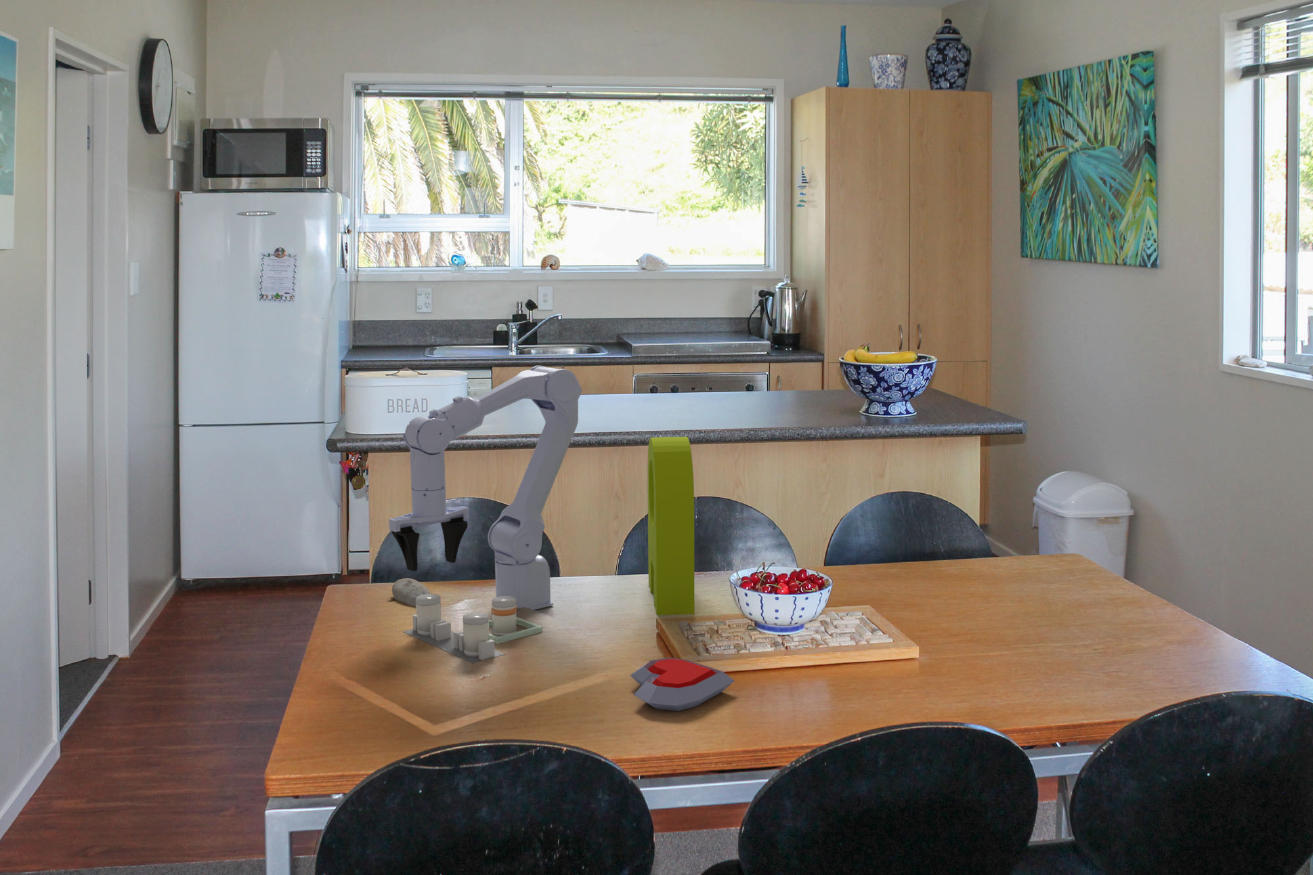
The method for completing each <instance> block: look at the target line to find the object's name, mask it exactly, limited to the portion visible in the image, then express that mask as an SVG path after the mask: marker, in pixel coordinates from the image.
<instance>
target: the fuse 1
mask: <svg viewBox="0 0 1313 875" xmlns="http://www.w3.org/2000/svg"><path fill="white" fill-rule="evenodd" d="M441 602H442V600H441V595H439V594H435V593H431V594H425V595H420V596H418V597H416V606H415V609H416V614H417V634H418V635H420V636H431V633H430V623H431V622H435V621H439V620H442V603H441Z"/></svg>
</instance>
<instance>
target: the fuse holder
mask: <svg viewBox="0 0 1313 875" xmlns="http://www.w3.org/2000/svg"><path fill="white" fill-rule="evenodd" d="M451 625H452V623H451V622H449V621H446V619H441V620H439V621H435V622H431V623H430V633H431V636H420V635H418V634H417V613H416V614H412V629H409V630H408V629H407V630H404V631H402V632H403V633H404V634H406V635H409V636H412V637H414V638H415V639H418V640H421V641H422V642H424V643H427V644H429V645H431V646H433V647H436V648H438V649H440V650H442V651H444V652H447V653H449V654H451V655H454V656H456V657H458V658H460V659H463V660H465V661H467V662H469V663H471V664H476V663H479V662H483V661H486V660H490V659H494V658H498V657H500V656H505V655H506V653H504V652H502V651H499V650H497V649H496V648H495V642H494V640H487V641H484V642H480V643H478V654H479V657H468V656H465V655H464V639H463V629H461V630H458V631H455V632H454V631H453V630H452V626H451Z"/></svg>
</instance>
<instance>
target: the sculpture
mask: <svg viewBox="0 0 1313 875" xmlns="http://www.w3.org/2000/svg"><path fill="white" fill-rule="evenodd" d="M630 677H631V678H632V679H633V680H635V682H636V683H637V684H638V685H640V687H639V689H637V690H636V691H635V693H634V694H633V696H635V697H636V698H638V699H640V700H641V701H643V702H644V703H646V704H648V705H649V706H652V707H653V708H655V710H661V711H662V710H663V711H664V710H665V711H675V712H676V711H677V712H679V711H685V710H687V709H688V710H689V709H693V708H696V707H698V706H699V705H701V704H703V703H704V702H706V701H708V700H710V699H712V698H713V697H715V696H718V695H719V694H720V693H722V692H724V691H725V690H726V689H727V688H729V687H730V686H731V685H732V684H733V683H734V682H735V679H733V678H732V677H730V676H729V675H728V674H727V673H725V672H724V671H722V670H720V669H717V668H713V667H711V666H707V665H705V664H701V663H699V662H695V661H691V660H689V659H683V658H676V657H671V656H670V657H669V656H668V657H664V658H657V659H651V660H650V661H648V662H647V663H645V664H644V665H642V666H640V667H639V668H638V669H637V670H635V671H634V672H632V673H631V674H630Z"/></svg>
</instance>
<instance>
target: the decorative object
mask: <svg viewBox="0 0 1313 875" xmlns="http://www.w3.org/2000/svg"><path fill="white" fill-rule="evenodd" d="M648 440H649V441H648V447H647V448H648V449H647V450H648V451H647V541H648V542H647V544H648V546H647V553H648V554H647V555H648V556H647V557H648V558H647V559H648V566H647V567H648V571H647V572H648V586H649V587H648V588H649V590H650V594H653V605H654V610H655V614H656V616H675V615H678V614H683V615H695V612H696V611H695V610H696V609H695V604H696V603H695V486H694V485H695V484H694V483H695V481H694V469H693V468H694V467H693V456H692V448H691V444H690V443H691V442H690V440H689V437H688V436H663V437H654V436H653V437H649V439H648ZM678 616H679V615H678Z"/></svg>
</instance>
